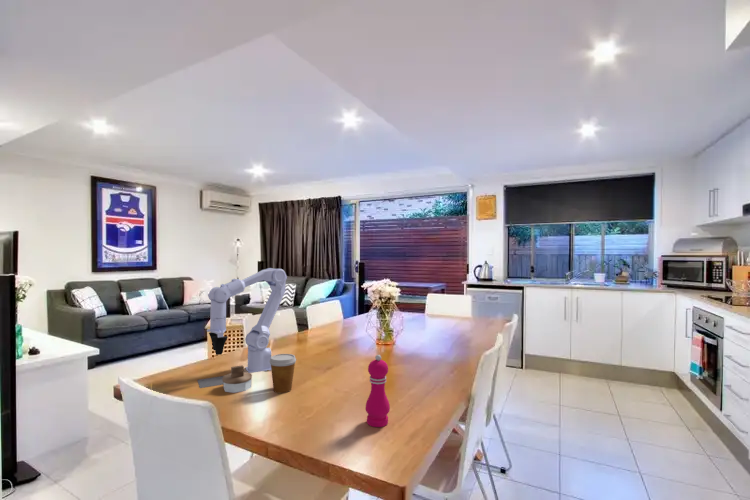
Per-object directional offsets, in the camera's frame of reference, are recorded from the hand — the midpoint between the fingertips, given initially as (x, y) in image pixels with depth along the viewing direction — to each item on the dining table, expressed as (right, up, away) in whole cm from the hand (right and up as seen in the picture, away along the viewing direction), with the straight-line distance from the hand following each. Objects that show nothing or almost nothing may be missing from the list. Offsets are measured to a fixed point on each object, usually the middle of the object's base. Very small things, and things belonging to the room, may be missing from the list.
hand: (217, 352), depth 145 cm
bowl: (+12, -10, -10) cm, 19 cm away
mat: (0, -10, -5) cm, 11 cm away
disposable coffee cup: (+28, -11, -11) cm, 32 cm away
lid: (+12, -7, -11) cm, 17 cm away
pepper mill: (+63, -11, -36) cm, 73 cm away
